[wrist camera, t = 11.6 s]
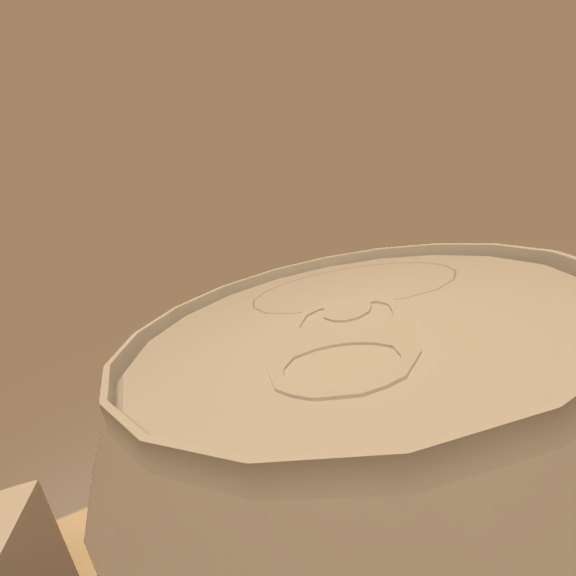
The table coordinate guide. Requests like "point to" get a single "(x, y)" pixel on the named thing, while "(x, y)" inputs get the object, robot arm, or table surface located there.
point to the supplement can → (348, 422)
